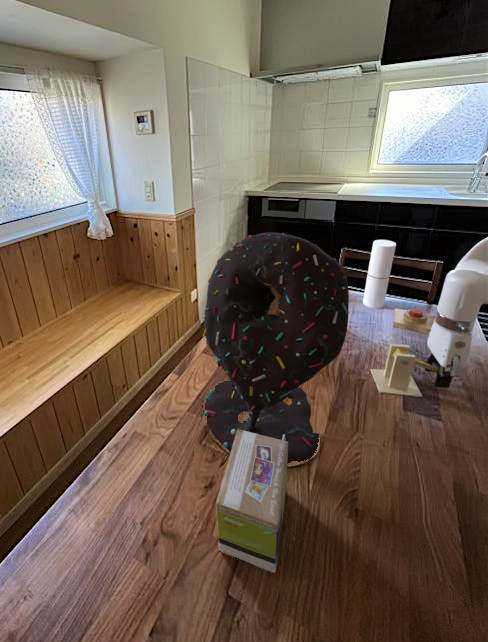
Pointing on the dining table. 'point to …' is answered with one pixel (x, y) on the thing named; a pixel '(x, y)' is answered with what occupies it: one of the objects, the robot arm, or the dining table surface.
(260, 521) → the tea box
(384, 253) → the cylindrical container
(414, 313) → the lamp button
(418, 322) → the button block
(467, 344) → the robot arm
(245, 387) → the chocolate sprinkled donut
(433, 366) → the switch lever
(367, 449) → the dining table surface
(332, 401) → the dining table surface
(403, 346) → the switch bracket
